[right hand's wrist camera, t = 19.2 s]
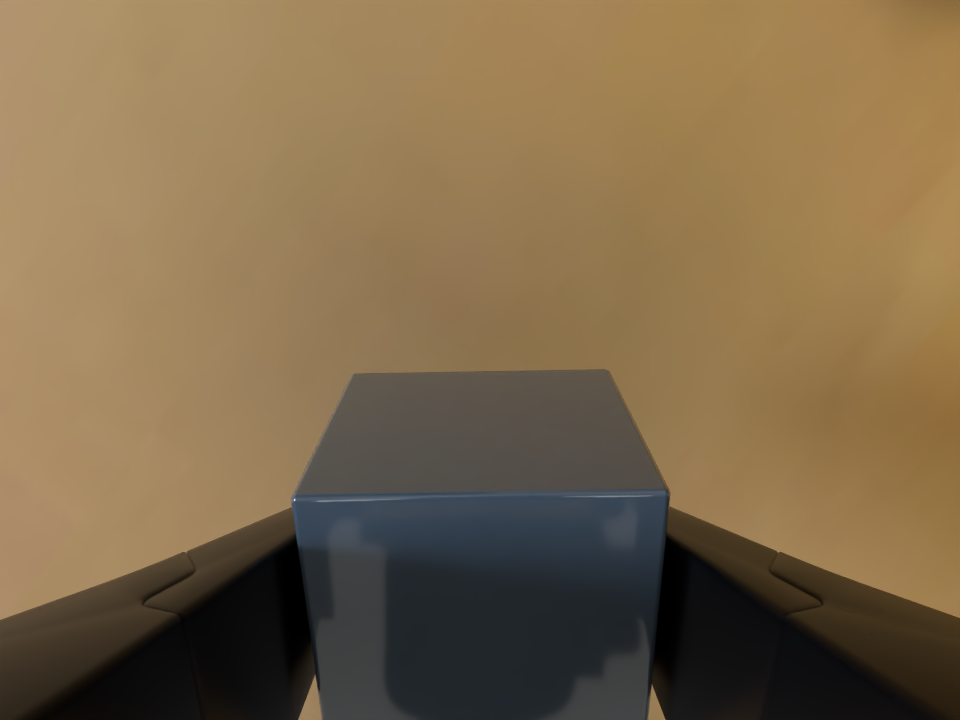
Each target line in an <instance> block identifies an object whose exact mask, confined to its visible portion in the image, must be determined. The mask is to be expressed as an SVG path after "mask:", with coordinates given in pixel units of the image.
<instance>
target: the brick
mask: <svg viewBox="0 0 960 720" xmlns="http://www.w3.org/2000/svg"><path fill="white" fill-rule="evenodd" d="M670 494H671V493H670V491H669V488H668V486H667V484H666V482H665V480H664V478H663V476H662V474H661V472H660V470H659V469H658V467H657V465H656V463H655V461H654V459H653V457H652V455H651V453H650V451H649V449H648V447H647V445H646V443H645V441H644V439H643V437H642V435H641V433H640V431H639V429H638V427H637V425H636V423H635V421H634V419H633V417H632V415H631V413H630V411H629V409H628V407H627V405H626V403H625V401H624V399H623V397H622V395H621V393H620V391H619V389H618V387H617V385H616V383H615V381H614V379H613V377H612V375H611V373H610V371H608V370H606V369H602V370H543V371H484V372H425V373H366V374H353V375H351V377H350V379H349V381H348V383H347V385H346V387H345V389H344V391H343V393H342V395H341V397H340V399H339V401H338V403H337V405H336V408H335V410H334V412H333V414H332V416H331V418H330V420H329V422H328V424H327V426H326V428H325V430H324V432H323V434H322V436H321V438H320V440H319V442H318V444H317V446H316V448H315V450H314V452H313V454H312V456H311V458H310V460H309V462H308V464H307V466H306V468H305V470H304V472H303V474H302V476H301V478H300V480H299V482H298V484H297V486H296V489H295V491H294V493H293V495H292V498H291V504H292V511H293V518H294V525H295V532H296V539H297V547H298V554H299V561H300V568H301V575H302V582H303V589H304V596H305V603H306V610H307V618H308V625H309V632H310V639H311V646H312V653H313V660H314V667H315V674H316V681H317V689H318V696H319V703H320V710H321V717H322V720H648V716H649V706H650V696H651V686H652V676H653V666H654V656H655V646H656V635H657V625H658V615H659V605H660V595H661V585H662V575H663V565H664V554H665V544H666V534H667V524H668V514H669V504H670Z"/></svg>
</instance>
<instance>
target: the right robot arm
mask: <svg viewBox="0 0 960 720" xmlns="http://www.w3.org/2000/svg"><path fill="white" fill-rule="evenodd" d="M314 676H315V667H314V660H313V653H312V646H311V639H310V632H309V625H308V618H307V610H306V603H305V596H304V589H303V582H302V575H301V568H300V561H299V554H298V547H297V539H296V532H295V525H294V518H293V511H292V507H291V508H289V509H286V510H284V511H282V512H279V513H277V514H275V515H272V516H270V517H267V518H265V519H263V520H260V521H258V522H256V523H253V524H251V525H248V526H246V527H244V528H241V529H239V530H236V531H234V532H232V533H229V534H227V535H225V536H222V537H220V538H217V539H215V540H213V541H210V542H208V543H206V544H203V545H201V546H198V547H196V548H194V549H191V550H189V551H187V553H185V552H182V553H180V554H177V555H175V556H173V557H170V558H168V559H165V560H163V561H160V562H158V563H155V564H153V565H150V566H148V567H145V568H143V569H140V570H138V571H135V572H132V573H130V574H127V575H124V576H122V577H119V578H116V579H114V580H111V581H108V582H106V583H103V584H100V585H97V586H94V587H92V588H89V589H86V590H83V591H80V592H78V593H75V594H72V595H69V596H66V597H64V598H61V599H58V600H55V601H52V602H50V603H47V604H44V605H41V606H38V607H36V608H33V609H30V610H27V611H24V612H22V613H19V614H16V615H13V616H10V617H8V618H5V619H2V620H0V720H298V718H299V716H300V713H301V710H302V708H303V705H304V702H305V700H306V697H307V695H308V692H309V689H310V687H311V684H312V681H313V679H314ZM652 685H653V688H654V691H655V693H656V696H657V698H658V701H659V704H660V706H661V709H662V711H663V714H664V717H665V719H666V720H960V618H958V617H955V616H952V615H950V614H947V613H944V612H941V611H938V610H935V609H933V608H930V607H927V606H924V605H921V604H918V603H916V602H913V601H910V600H907V599H904V598H902V597H899V596H896V595H893V594H890V593H887V592H885V591H882V590H879V589H876V588H873V587H870V586H868V585H865V584H862V583H859V582H857V581H854V580H851V579H848V578H846V577H843V576H840V575H838V574H835V573H832V572H829V571H827V570H824V569H822V568H819V567H817V566H814V565H812V564H809V563H807V562H804V561H802V560H799V559H797V558H794V557H792V556H789V555H787V554H785V553H782V552H779V553H778V552H777V551H775V550H773V549H770V548H768V547H766V546H763V545H761V544H758V543H756V542H754V541H751V540H749V539H746V538H744V537H742V536H739V535H737V534H734V533H732V532H730V531H727V530H725V529H722V528H720V527H718V526H715V525H713V524H710V523H708V522H706V521H703V520H701V519H698V518H696V517H694V516H691V515H689V514H686V513H684V512H682V511H679V510H677V509H674V508H672V507H670V506H669V514H668V524H667V534H666V544H665V554H664V565H663V575H662V585H661V595H660V605H659V615H658V625H657V635H656V646H655V656H654V666H653V676H652Z"/></svg>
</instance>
